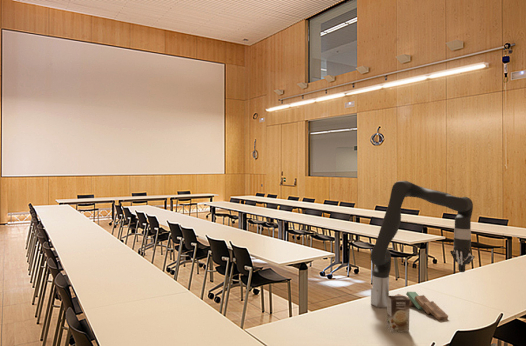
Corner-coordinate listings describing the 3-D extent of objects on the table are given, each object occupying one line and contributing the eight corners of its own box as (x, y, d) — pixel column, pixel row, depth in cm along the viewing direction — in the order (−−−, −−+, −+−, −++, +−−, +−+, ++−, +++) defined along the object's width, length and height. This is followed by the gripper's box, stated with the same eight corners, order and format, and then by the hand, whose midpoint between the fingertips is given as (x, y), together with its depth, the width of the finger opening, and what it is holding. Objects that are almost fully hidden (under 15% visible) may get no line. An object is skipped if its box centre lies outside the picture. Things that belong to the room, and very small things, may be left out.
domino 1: (411, 302, 213) (392, 296, 222) (411, 305, 213) (392, 299, 222) (416, 299, 216) (398, 293, 226) (416, 303, 216) (398, 297, 226)
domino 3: (429, 312, 202) (415, 296, 212) (428, 314, 202) (414, 298, 213) (438, 310, 203) (423, 295, 214) (437, 313, 204) (422, 297, 214)
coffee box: (391, 332, 181) (391, 300, 180) (386, 326, 187) (386, 295, 187) (409, 332, 181) (410, 299, 181) (404, 326, 188) (404, 295, 187)
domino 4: (439, 317, 194) (424, 302, 205) (438, 320, 195) (423, 305, 206) (448, 316, 196) (432, 301, 207) (447, 319, 197) (432, 304, 208)
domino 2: (419, 306, 207) (407, 291, 218) (418, 309, 208) (406, 294, 218) (428, 306, 209) (415, 291, 220) (426, 309, 210) (414, 294, 220)
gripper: (445, 235, 188) (445, 269, 189) (467, 240, 176) (467, 276, 176) (457, 234, 191) (456, 267, 191) (479, 239, 178) (479, 275, 179)
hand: (461, 271), depth 184 cm, fingers closed
